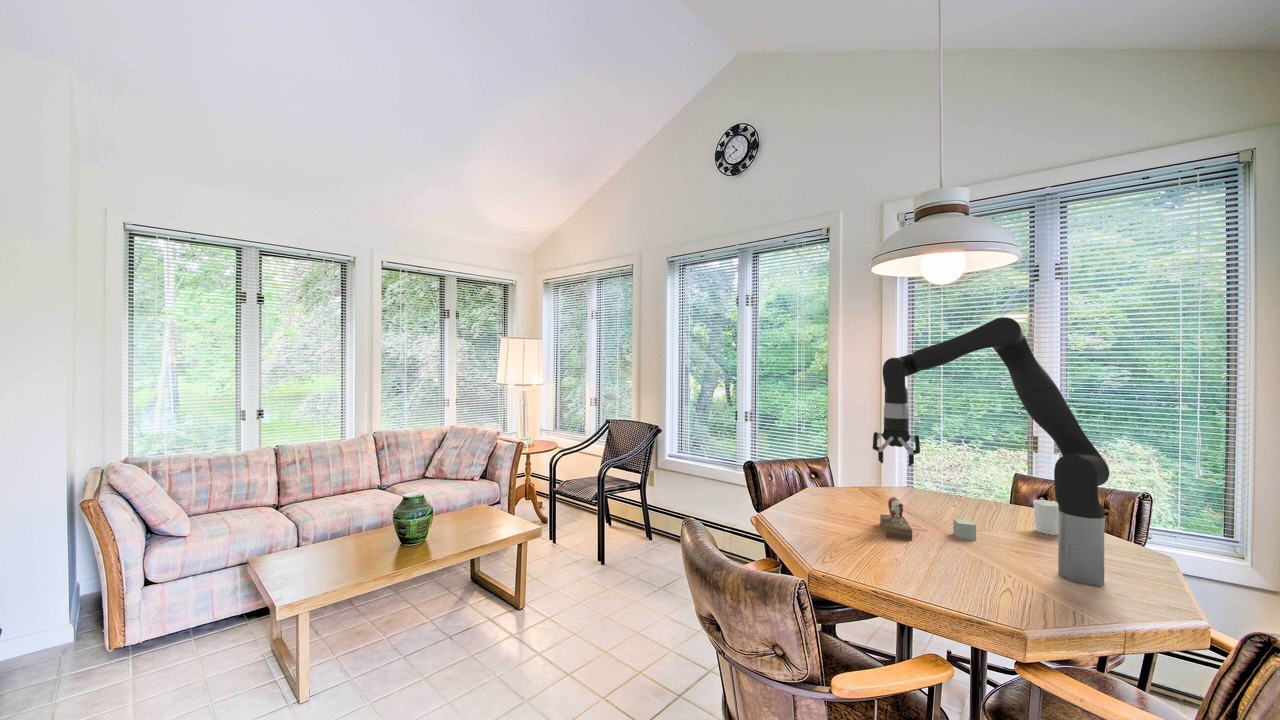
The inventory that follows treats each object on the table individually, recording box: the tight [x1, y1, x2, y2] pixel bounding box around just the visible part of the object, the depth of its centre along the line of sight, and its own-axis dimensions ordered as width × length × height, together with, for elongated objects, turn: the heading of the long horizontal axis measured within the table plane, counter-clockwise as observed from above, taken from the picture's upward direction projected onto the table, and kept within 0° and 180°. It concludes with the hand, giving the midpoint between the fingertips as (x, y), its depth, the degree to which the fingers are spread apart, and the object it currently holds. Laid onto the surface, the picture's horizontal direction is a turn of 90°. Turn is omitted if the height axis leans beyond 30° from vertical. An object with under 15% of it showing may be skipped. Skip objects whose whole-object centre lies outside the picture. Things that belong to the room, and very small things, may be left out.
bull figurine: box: [887, 496, 904, 525], centre depth 168 cm, size 4×13×8 cm, turn 155°
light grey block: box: [1033, 499, 1059, 536], centre depth 170 cm, size 8×8×10 cm
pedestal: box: [879, 514, 913, 542], centre depth 168 cm, size 15×8×4 cm, turn 161°
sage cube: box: [952, 518, 977, 541], centre depth 164 cm, size 5×5×5 cm
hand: (895, 464), depth 169 cm, fingers open, 8 cm apart
